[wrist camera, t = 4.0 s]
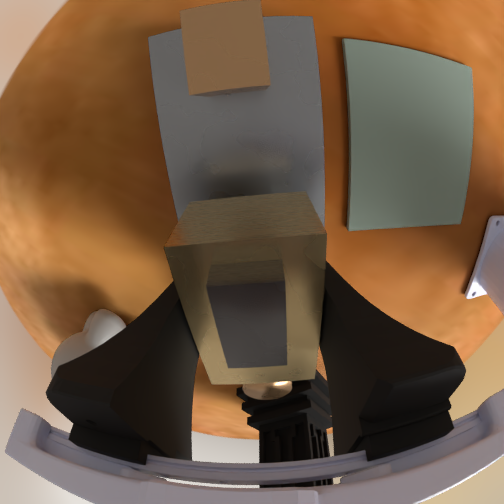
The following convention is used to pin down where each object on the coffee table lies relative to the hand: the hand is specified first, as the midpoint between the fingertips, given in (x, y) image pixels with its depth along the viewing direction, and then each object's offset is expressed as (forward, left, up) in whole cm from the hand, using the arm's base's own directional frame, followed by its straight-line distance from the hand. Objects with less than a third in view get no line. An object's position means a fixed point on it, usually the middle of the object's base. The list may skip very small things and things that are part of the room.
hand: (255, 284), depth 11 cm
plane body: (0, 0, -5) cm, 5 cm away
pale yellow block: (0, 0, -1) cm, 1 cm away
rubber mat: (-10, -5, -5) cm, 12 cm away
